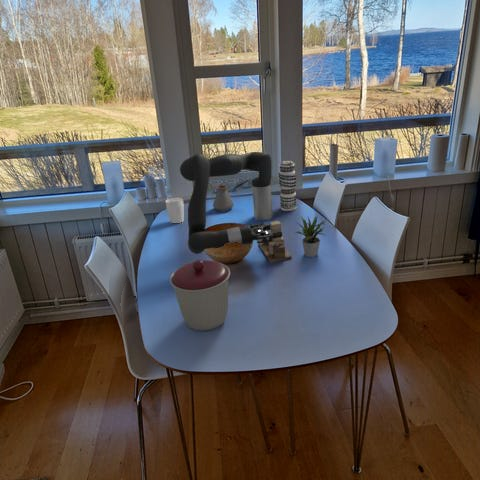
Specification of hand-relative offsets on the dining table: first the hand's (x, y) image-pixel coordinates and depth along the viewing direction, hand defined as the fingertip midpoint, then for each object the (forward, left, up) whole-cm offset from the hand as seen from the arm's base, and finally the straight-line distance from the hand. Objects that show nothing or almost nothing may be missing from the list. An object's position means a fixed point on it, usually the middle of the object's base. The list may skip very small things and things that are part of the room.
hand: (278, 230), depth 161 cm
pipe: (-4, -1, -8) cm, 9 cm away
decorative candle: (-52, +21, -11) cm, 57 cm away
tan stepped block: (0, -1, -9) cm, 9 cm away
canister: (+36, -35, -11) cm, 52 cm away
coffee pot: (-65, -7, -11) cm, 66 cm away
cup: (-57, -38, -11) cm, 70 cm away
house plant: (+5, +12, -11) cm, 17 cm away
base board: (-4, -1, -11) cm, 12 cm away
